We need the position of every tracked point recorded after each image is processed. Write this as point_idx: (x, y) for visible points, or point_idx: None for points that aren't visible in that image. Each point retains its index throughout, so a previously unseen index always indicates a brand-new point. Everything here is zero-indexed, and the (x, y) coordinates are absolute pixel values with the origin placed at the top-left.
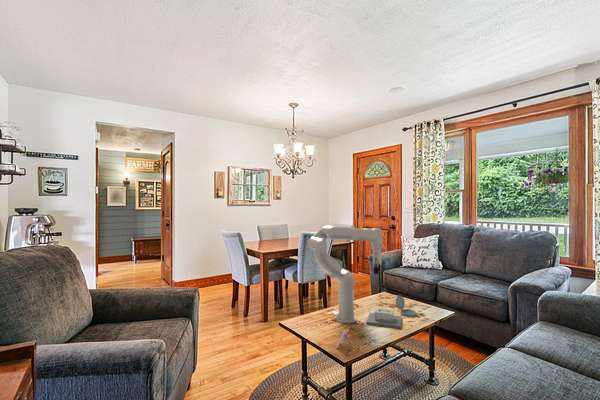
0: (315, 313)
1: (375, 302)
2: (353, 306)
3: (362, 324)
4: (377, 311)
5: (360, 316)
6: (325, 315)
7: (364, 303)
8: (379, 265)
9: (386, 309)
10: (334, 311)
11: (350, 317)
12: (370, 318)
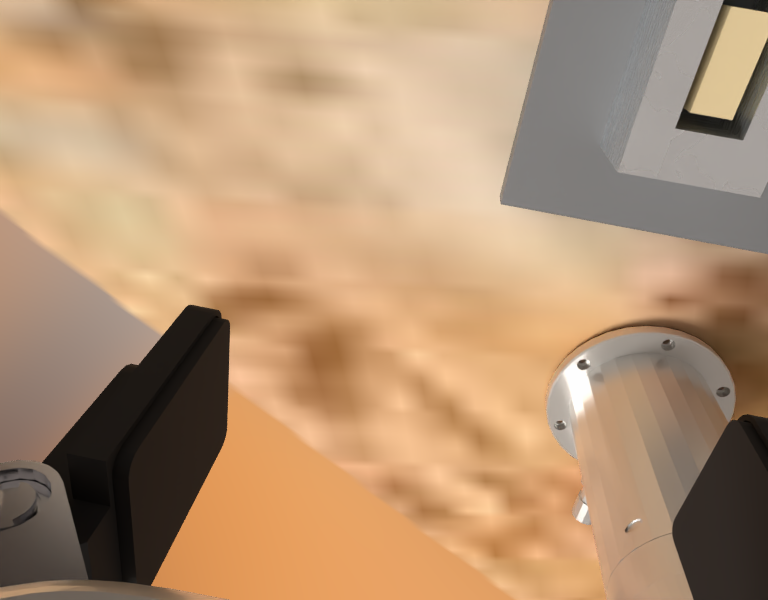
0: (504, 581)
1: (90, 107)
2: (706, 435)
3: (755, 277)
4: (743, 157)
5: (547, 284)
6: (541, 528)
7: (167, 229)
8: (135, 467)
9: (670, 24)
10: (587, 514)
11: (715, 399)
12: (673, 206)
